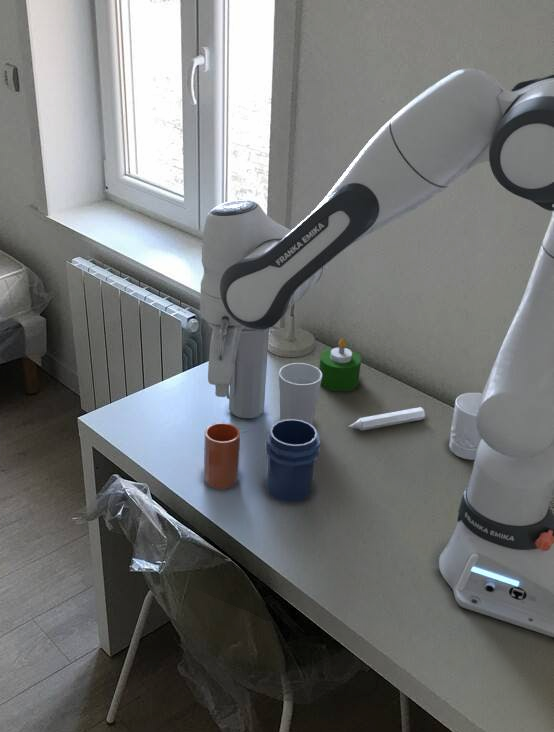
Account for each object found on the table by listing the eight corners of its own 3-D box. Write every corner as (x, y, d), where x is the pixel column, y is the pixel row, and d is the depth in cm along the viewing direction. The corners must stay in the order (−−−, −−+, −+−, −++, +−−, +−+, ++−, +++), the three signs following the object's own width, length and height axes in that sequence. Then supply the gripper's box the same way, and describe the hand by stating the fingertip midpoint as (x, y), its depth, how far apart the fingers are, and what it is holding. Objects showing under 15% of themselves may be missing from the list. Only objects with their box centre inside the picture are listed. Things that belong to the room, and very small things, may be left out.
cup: (315, 440, 161) (321, 386, 154) (273, 436, 162) (277, 383, 155) (317, 417, 167) (323, 364, 160) (276, 413, 169) (280, 361, 162)
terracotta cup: (244, 476, 152) (246, 430, 147) (224, 493, 149) (226, 446, 143) (217, 464, 155) (218, 418, 150) (197, 480, 152) (197, 434, 146)
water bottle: (245, 396, 174) (251, 284, 160) (273, 412, 169) (281, 297, 155) (212, 412, 170) (214, 298, 155) (239, 429, 164) (245, 313, 150)
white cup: (464, 432, 162) (474, 387, 156) (499, 452, 156) (511, 406, 151) (436, 446, 158) (446, 401, 152) (471, 467, 153) (482, 421, 147)
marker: (345, 434, 164) (419, 419, 167) (350, 434, 161) (425, 419, 165) (343, 420, 163) (417, 405, 166) (348, 421, 161) (423, 406, 164)
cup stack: (319, 485, 150) (326, 429, 143) (296, 508, 145) (301, 451, 138) (281, 469, 154) (286, 414, 147) (257, 490, 149) (261, 434, 142)
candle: (337, 366, 183) (342, 325, 177) (366, 382, 177) (372, 340, 172) (309, 379, 179) (313, 337, 173) (338, 395, 173) (343, 352, 168)
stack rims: (328, 446, 145) (330, 434, 144) (300, 473, 139) (301, 460, 138) (284, 429, 150) (285, 417, 148) (255, 453, 144) (256, 441, 143)
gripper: (242, 337, 124) (237, 416, 132) (253, 277, 140) (248, 350, 148) (199, 334, 125) (197, 412, 133) (215, 274, 141) (212, 347, 149)
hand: (224, 379), depth 140 cm, fingers open, 8 cm apart
